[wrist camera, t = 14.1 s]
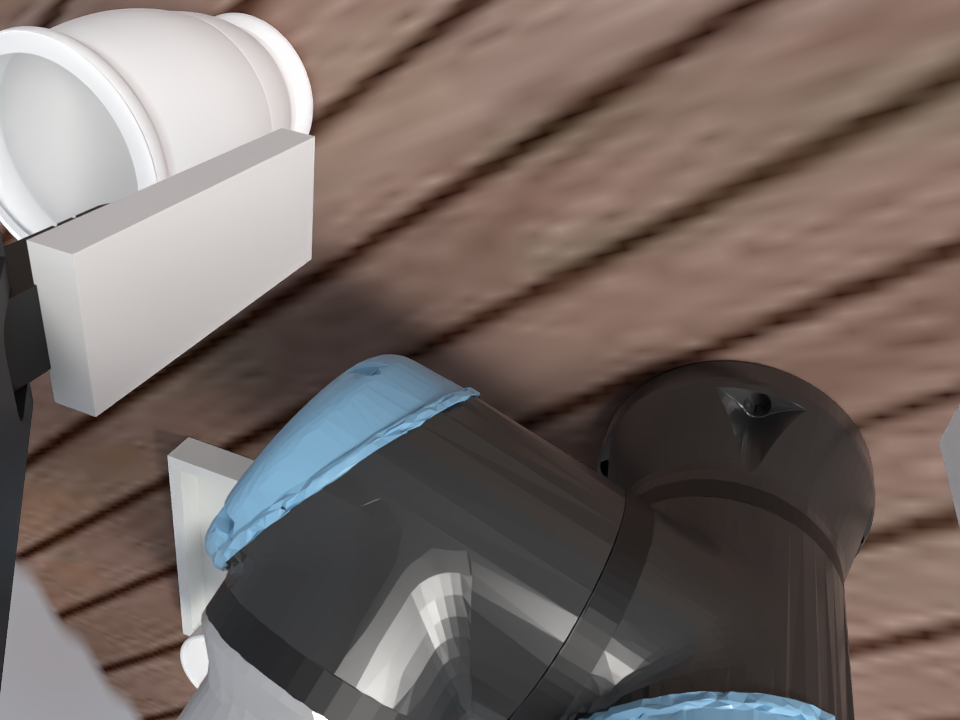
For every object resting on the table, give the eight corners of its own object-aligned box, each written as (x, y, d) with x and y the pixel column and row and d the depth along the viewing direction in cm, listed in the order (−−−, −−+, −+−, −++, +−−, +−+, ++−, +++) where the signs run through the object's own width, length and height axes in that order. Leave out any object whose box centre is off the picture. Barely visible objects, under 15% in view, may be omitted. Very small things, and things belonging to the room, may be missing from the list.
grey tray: (429, 522, 58) (415, 545, 56) (405, 696, 69) (392, 720, 67) (188, 437, 62) (167, 455, 60) (200, 612, 73) (183, 633, 71)
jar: (345, 186, 47) (183, 288, 35) (197, 180, 51) (1, 271, 38) (316, -13, 42) (115, 23, 30) (154, -6, 46) (-87, 30, 33)
